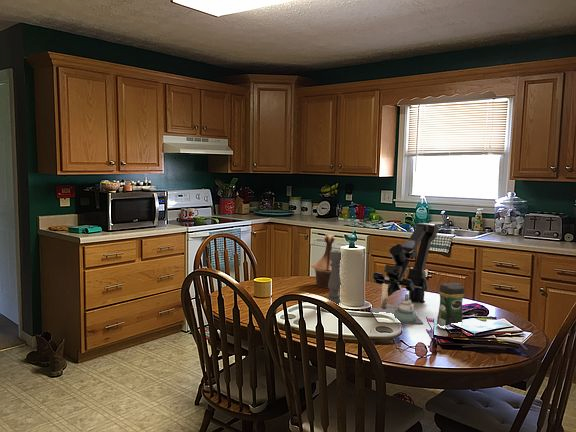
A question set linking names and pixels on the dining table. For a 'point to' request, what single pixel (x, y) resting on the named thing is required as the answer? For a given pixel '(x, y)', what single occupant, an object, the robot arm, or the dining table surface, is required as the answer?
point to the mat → (393, 313)
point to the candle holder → (334, 277)
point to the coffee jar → (450, 303)
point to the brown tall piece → (324, 264)
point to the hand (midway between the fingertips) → (385, 297)
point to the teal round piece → (405, 316)
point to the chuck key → (402, 307)
